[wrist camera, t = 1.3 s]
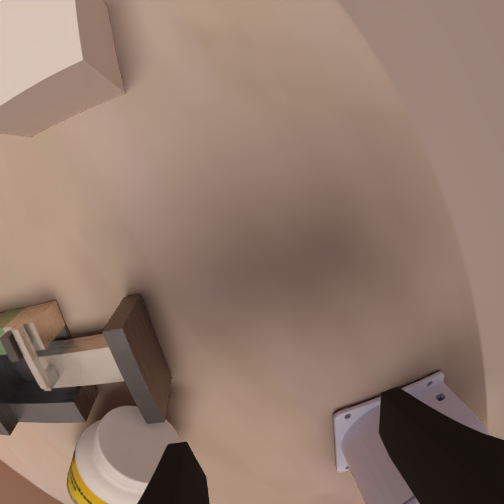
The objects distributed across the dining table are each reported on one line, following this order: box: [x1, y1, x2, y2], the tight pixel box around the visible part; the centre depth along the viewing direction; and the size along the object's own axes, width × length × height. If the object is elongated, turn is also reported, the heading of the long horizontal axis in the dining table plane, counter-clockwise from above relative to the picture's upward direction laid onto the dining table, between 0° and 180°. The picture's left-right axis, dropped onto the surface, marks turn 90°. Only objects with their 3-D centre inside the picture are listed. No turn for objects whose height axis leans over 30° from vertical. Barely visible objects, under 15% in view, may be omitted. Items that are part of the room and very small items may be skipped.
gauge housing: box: [0, 301, 98, 435], centre depth 15 cm, size 7×7×4 cm
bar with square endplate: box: [12, 294, 172, 424], centre depth 15 cm, size 7×6×4 cm
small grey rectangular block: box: [0, 330, 23, 362], centre depth 13 cm, size 1×1×1 cm, turn 11°
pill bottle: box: [67, 406, 182, 504], centre depth 15 cm, size 6×6×11 cm
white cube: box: [0, 0, 125, 137], centre depth 10 cm, size 6×6×6 cm
